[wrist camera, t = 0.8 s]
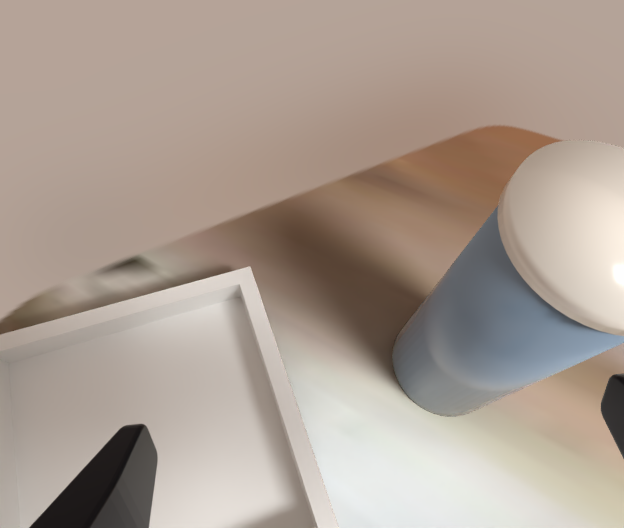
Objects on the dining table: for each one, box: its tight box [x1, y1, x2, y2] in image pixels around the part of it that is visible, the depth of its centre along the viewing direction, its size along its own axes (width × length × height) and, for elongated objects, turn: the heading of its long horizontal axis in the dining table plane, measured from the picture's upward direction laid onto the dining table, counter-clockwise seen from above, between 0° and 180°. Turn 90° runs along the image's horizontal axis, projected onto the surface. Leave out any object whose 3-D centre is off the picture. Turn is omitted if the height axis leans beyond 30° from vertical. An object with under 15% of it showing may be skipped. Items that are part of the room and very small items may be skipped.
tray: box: [0, 267, 339, 528], centre depth 20 cm, size 13×13×2 cm
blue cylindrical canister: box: [392, 140, 624, 417], centre depth 18 cm, size 6×6×14 cm
